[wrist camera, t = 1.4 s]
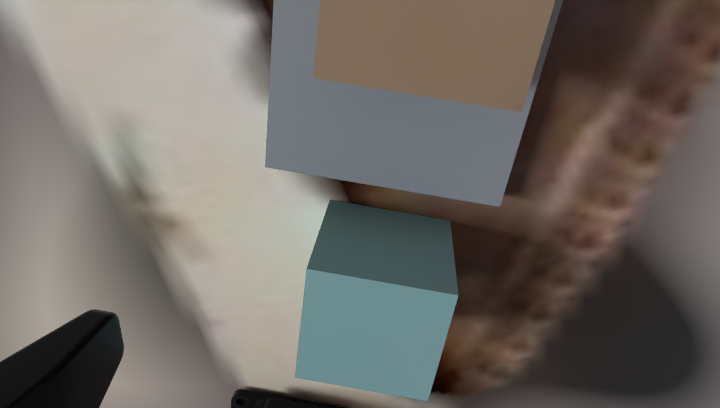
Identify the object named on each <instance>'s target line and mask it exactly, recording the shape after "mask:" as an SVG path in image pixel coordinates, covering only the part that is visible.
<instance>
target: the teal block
mask: <svg viewBox="0 0 720 408" xmlns="http://www.w3.org/2000/svg"><path fill="white" fill-rule="evenodd" d="M457 299H458V286H457V277H456V268H455V259H454V250H453V241H452V232H451V223H450V220H444V219H438V218H432V217H427V216H421V215H415V214H409V213H403V212H398V211H392V210H386V209H380V208H374V207H369V206H363V205H357V204H351V203H345V202H339V201H334V200H330V201H329V204H328V207H327V210H326V213H325V216H324V219H323V222H322V225H321V228H320V231H319V234H318V237H317V240H316V243H315V246H314V249H313V252H312V255H311V258H310V260H309V263H308V266H307V270H306V280H305V289H304V298H303V308H302V317H301V327H300V336H299V345H298V355H297V364H296V374H295V377H296V378H301V379H307V380H312V381H318V382H323V383H329V384H334V385H340V386H346V387H351V388H357V389H362V390H368V391H373V392H379V393H384V394H390V395H395V396H401V397H406V398H412V399H418V400H423V401H428V399H429V395H430V392H431V388H432V385H433V381H434V378H435V375H436V371H437V368H438V364H439V361H440V357H441V354H442V350H443V347H444V344H445V340H446V337H447V333H448V330H449V326H450V323H451V320H452V316H453V313H454V309H455V306H456V302H457Z"/></svg>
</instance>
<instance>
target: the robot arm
mask: <svg viewBox="0 0 720 408" xmlns="http://www.w3.org/2000/svg"><path fill="white" fill-rule="evenodd" d="M123 351H124V344H123V339H122V333H121V328H120V324H119V319H118V316H117V315H116V314H115V313H113V312H107V311H102V310H90V311H87V312H85V313H83V314H82V315H80V316H78V317H76V318H75V319H73V320H71V321H69V322H68V323H66V324H64V325H63V326H61V327H59V328H57V329H56V330H54V331H52V332H51V333H49V334H47V335H45V336H44V337H42V338H40V339H38V340H37V341H35V342H33V343H32V344H30V345H28V346H26V347H25V348H23V349H21V350H20V351H18V352H16V353H14V354H13V355H11V356H9V357H8V358H6V359H4V360H2V361H1V362H0V408H99V407H100V404H101V402H102V400H103V398H104V396H105V394H106V392H107V389H108V387H109V385H110V383H111V381H112V378H113V376H114V374H115V372H116V370H117V368H118V366H119V363H120V361H121V359H122V356H123ZM231 408H342V407H336V406H331V405H325V404H320V403H314V402H309V401H303V400H298V399H293V398H287V397H282V396H276V395H271V394H265V393H260V392H254V391H249V390H243V389H239V390H236V391H235V392H234V395H233V397H232V400H231Z"/></svg>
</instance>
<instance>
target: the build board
mask: <svg viewBox="0 0 720 408" xmlns="http://www.w3.org/2000/svg"><path fill="white" fill-rule="evenodd" d="M562 3H563V0H274V8H273V27H272V46H271V66H270V85H269V105H268V124H267V143H266V163H265V167H268V168H274V169H280V170H286V171H292V172H298V173H303V174H309V175H315V176H321V177H327V178H333V179H339V180H345V181H351V182H357V183H362V184H368V185H374V186H380V187H386V188H392V189H398V190H404V191H410V192H415V193H421V194H427V195H433V196H439V197H445V198H451V199H457V200H463V201H468V202H474V203H480V204H486V205H492V206H498V207H500V205H501V202H502V199H503V195H504V192H505V189H506V186H507V182H508V179H509V176H510V172H511V169H512V166H513V163H514V159H515V156H516V153H517V150H518V146H519V143H520V140H521V137H522V133H523V130H524V127H525V123H526V120H527V117H528V114H529V110H530V107H531V104H532V101H533V97H534V94H535V91H536V88H537V84H538V81H539V78H540V75H541V71H542V68H543V65H544V61H545V58H546V55H547V52H548V48H549V45H550V42H551V39H552V35H553V32H554V29H555V26H556V22H557V19H558V16H559V13H560V9H561V6H562Z"/></svg>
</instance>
